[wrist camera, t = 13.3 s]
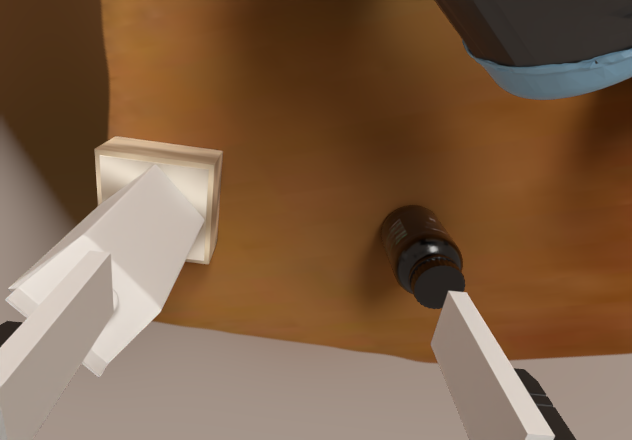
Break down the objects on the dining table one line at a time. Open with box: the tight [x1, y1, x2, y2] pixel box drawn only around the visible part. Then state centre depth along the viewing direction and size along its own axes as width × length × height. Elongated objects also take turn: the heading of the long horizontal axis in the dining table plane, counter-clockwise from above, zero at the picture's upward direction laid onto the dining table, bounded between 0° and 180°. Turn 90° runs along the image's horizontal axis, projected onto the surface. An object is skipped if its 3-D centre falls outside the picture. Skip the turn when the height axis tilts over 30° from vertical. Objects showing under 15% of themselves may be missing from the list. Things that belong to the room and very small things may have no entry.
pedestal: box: [95, 136, 223, 264], centre depth 45 cm, size 11×11×5 cm
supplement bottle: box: [381, 205, 465, 309], centre depth 45 cm, size 7×7×12 cm
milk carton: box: [5, 165, 204, 377], centre depth 34 cm, size 7×7×19 cm
